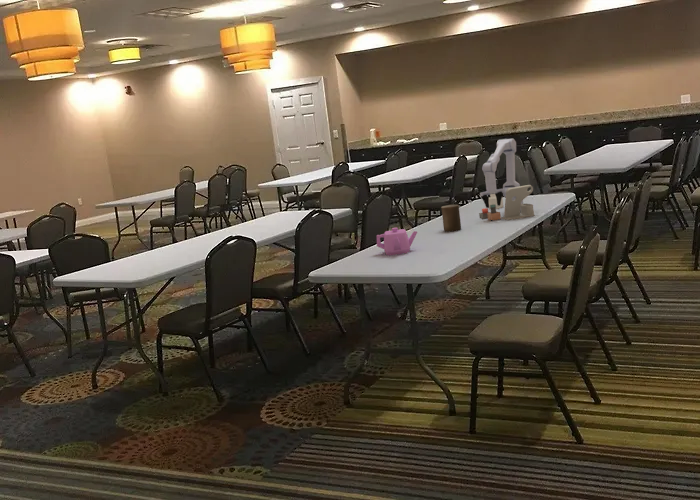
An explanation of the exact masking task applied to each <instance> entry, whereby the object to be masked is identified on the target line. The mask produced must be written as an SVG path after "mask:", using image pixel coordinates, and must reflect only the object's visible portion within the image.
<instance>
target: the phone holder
mask: <svg viewBox="0 0 700 500" xmlns="http://www.w3.org/2000/svg"><path fill="white" fill-rule="evenodd" d="M529 188H530V189H529ZM528 189H529V190H528ZM533 191H534V186H532V185H531V184H527V185H520V186H519V187H513V188H508V189H507V191H506V198H505V202H504V211H503V212H504V215H503V216H501V219H500V220H505V221H512V219H513V220H518V218H519V219H523V218H529V217H534V216H535V213H534V204H531V203H523V204H521V201H522V200H523V201H524V200H525V199H526V198H527V197H528V196H530V194H532V193H533ZM514 196H516V199H515V200H514V201H512V197H514ZM520 208H521V211H520Z"/></svg>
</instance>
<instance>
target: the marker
mask: <svg viewBox="0 0 700 500" xmlns="http://www.w3.org/2000/svg"><path fill="white" fill-rule="evenodd" d="M489 210H490V212H491V214H493V213H496V211H497V209H496V204H492V205H490V209H489Z"/></svg>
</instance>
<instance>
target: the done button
mask: <svg viewBox="0 0 700 500" xmlns="http://www.w3.org/2000/svg"><path fill="white" fill-rule="evenodd" d="M488 212H489V208H486V207H485V208H481V213H483V214H485V213H488Z"/></svg>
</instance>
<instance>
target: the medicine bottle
mask: <svg viewBox="0 0 700 500" xmlns="http://www.w3.org/2000/svg"><path fill="white" fill-rule="evenodd" d="M494 193H495V192H494ZM503 197H504V196H502V199H501V204H500V206H499V205H497V199H496V195H495V194H490V195H489V208H488V210H491V209H490V205H492V204H496V210H500V209H502V208H504V198H503ZM499 208H500V209H499Z"/></svg>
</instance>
